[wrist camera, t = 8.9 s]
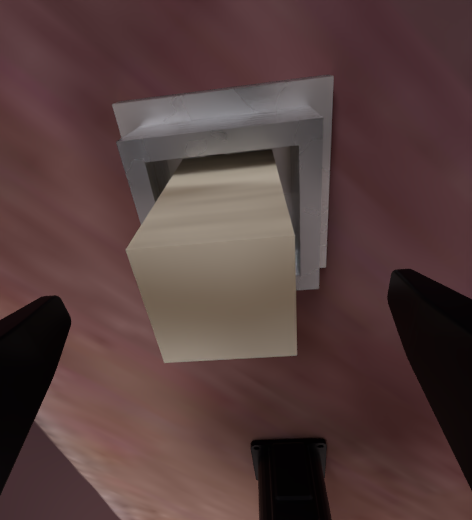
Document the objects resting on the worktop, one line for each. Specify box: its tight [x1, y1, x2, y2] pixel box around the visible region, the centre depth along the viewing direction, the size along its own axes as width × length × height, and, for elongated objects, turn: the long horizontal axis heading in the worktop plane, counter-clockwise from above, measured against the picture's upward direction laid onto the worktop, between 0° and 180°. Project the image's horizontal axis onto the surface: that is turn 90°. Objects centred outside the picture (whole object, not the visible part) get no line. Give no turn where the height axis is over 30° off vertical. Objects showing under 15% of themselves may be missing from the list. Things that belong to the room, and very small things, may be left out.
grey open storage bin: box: [112, 75, 334, 290], centre depth 14 cm, size 9×9×4 cm
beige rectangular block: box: [126, 150, 297, 363], centre depth 12 cm, size 4×4×8 cm
